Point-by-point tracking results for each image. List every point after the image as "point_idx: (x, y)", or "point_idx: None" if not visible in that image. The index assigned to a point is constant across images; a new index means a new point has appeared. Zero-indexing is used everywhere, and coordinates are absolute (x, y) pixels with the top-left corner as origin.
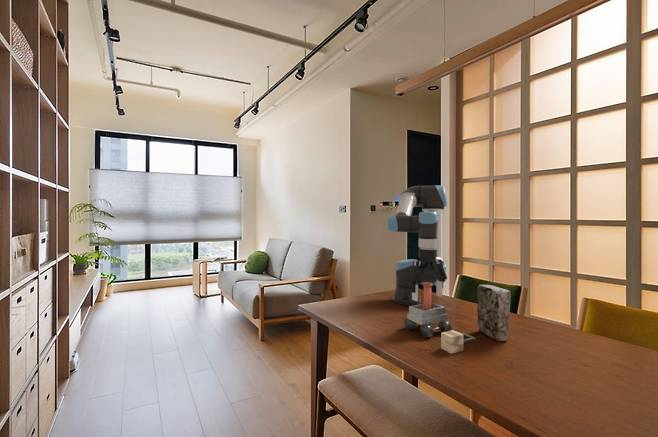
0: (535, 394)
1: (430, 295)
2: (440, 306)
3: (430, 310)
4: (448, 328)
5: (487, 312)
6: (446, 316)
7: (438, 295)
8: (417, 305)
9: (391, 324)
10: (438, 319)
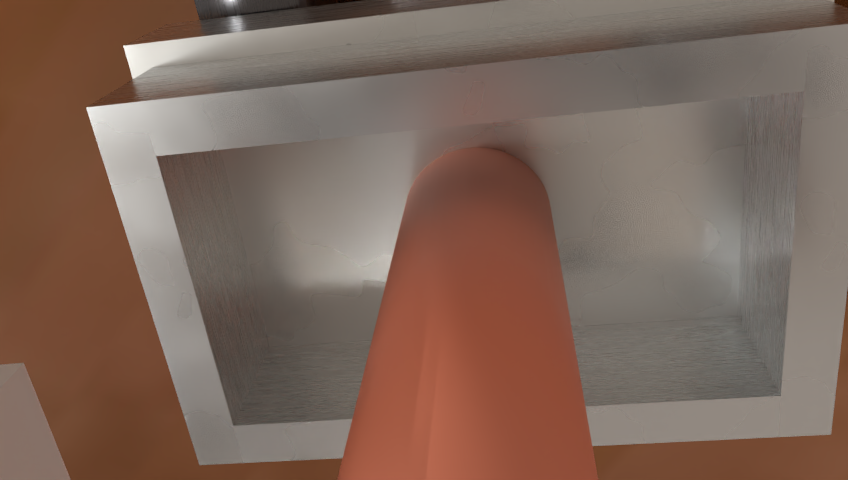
0: None
1: (437, 375)
2: (173, 202)
3: (579, 48)
4: None
5: None
6: (162, 35)
7: (45, 454)
8: (620, 416)
9: (753, 451)
10: (371, 5)
